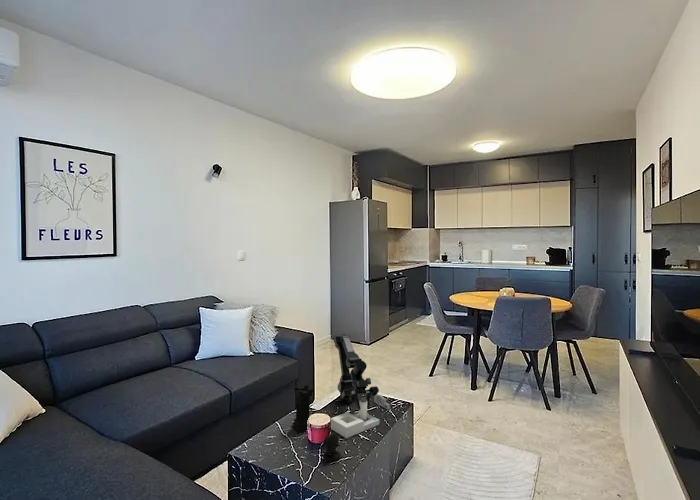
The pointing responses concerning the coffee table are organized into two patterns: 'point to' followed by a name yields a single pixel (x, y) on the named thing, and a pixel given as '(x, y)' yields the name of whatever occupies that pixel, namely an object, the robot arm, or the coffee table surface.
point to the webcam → (331, 447)
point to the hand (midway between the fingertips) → (363, 409)
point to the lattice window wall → (383, 401)
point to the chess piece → (302, 408)
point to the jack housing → (352, 424)
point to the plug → (363, 409)
